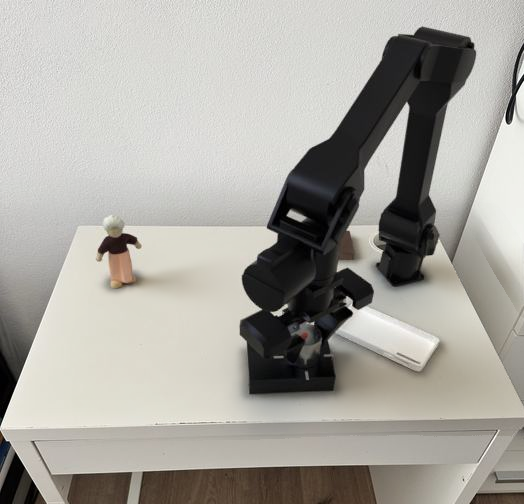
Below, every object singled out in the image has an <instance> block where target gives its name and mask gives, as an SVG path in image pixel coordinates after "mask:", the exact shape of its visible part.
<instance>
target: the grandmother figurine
mask: <svg viewBox="0 0 524 504" xmlns="http://www.w3.org/2000/svg"><path fill="white" fill-rule="evenodd" d="M125 224H126V223H125V221H124V220H123V219H122V218H120V216H118V215H115V214H114V215H113V214H111V215H108V216H107V217H105V218H103V221H102V227H103V230H104V231H105V232H106V233H107V236H105V237H104V238H103V240H102V242H101V243H100V245H99V246H98V248H97V252H96V257H95V261H96V262H98V263H101V262H102V261H103V257H104V255H105V254H106V253H107V258H108V259H107V261H108V270H109V274H110V287H111V288H112V289H119V288H121V287H122V286H123V283H124V284H127V285H128V284H134V283H135V282H136V281H137V278H136V276H135V275H133V271H134V270H133V263H132V258H131V254H130V253H131V252H130V249H129V248H128V245H131V246H132V245H133V246H134V248H135V249H136V250H140V249H142V247H143V246H142V243H140V241H139V239H138V237H137V236H135V235H134V234H133V235H132V234H130V233H125V232H124V228H125Z"/></svg>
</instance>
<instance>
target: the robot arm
mask: <svg viewBox="0 0 524 504" xmlns="http://www.w3.org/2000/svg"><path fill="white" fill-rule="evenodd" d="M476 58H477V50H476V49H475V42H473V41H472V39H471V37H470V36H468V35H463V34H458V33H453V32H449V31H445V30H441V29H440V30H439V29H436V28H432V27H427V26H422V25H421V26H420V27H418V29H416V30H415V31H414V33H413V34H407V33H398V34H397V35H392V36H391V37H390V38H389V39H388V40H387V42H386V43H385V46H384V48H383V51H382V56H381V59H380V61H379V63H378V65H377V66H376V67H375V69H374V71H373V72H372V74H371V75H370V76H369V78H368V80H367V81H366V82H365V84H364V86H363V87H362V88H361V90H360V92H359V94H358V95H357V97H356V98H355V100H354V101H353V102H352V105H351V106H350V107H349V109H348V110H347V112H346V114H345V115H344V116H343V118H342V119H341V121H340V123H339V124H338V126H336V127H337V128H335V130H334V132H333V133H332V134H331V135H330V137H329V138H328V139H326V140H324V141H322V142H320V143H317V144H315V145H313V146H312V147H310V148H309V149H307V151H306V152H305V153H304V154H303V156H302V157H301V158H300V159H299V161H298V162H297V163H296V164H295V166H294V167H293V168H292V169H291V170H290V171H289V173H288V174H287V176H286V179H285V180H284V182H283V185H282V187H281V191H280V193H279V194H278V197H277V200H276V202H275V204H274V207H273V210H272V213H271V215H270V217H269V220H268V222H267V224H266V229H267V230H269V231H271V232H273V233H276V235H277V236H276V237H277V238H276V242H275V243H273V245H271V246H270V247H268V248H265V249H264V250H262V251H261V252H259V253H258V254H257V256H256V259H255V260H254V261H253V262H251V264H249V265H248V266H246V268H245V269H244V271H243V273H242V274H241V283H242V288H243V290H244V292H245V294H246V296H247V297H248V299H249V300H250V301H251V302H252V303H253V304H254V305H255V306H256V307H258V308H259V309H260V310H258V311H256V312H254V313H251V314H250V315H248V316H246V317H244V318H242V319H240V320H239V336H240V337H241V338H242V339H243V340H244V341H245V342H246V343H247V342H248V343H249V344H250V345H251V346H252V347H253V348H254V349H255V350H256V351H257V352H258V353H259V354H260V355H261V356H262V357H263V358H267V359H271V358H273V357H274V356H276V355H278V354H280V353H282V352H283V351H284V353H285V355H286V357H287V359H288V361H289V362H290V363H291V364H294V363H295V361H296V360H297V358H298V356H299V354H300V352H301V350H302V348H303V346H304V343H305V340H304V339H303V338H302V337H301V336H300V335H299V331H300V326H302V325H304V324H312V323H313V325H314V326H316V327H318V328H319V329H320V330H321V332H322V342H321V347H322V346H323V345H324V344H325V343H326V341H327V340H328V341H329V339H330V338H331V337H332V336H333V335H334V334H336V333H335V332H336V331H337V330H338V329H339V328H340V327H341V326H342V325H343V324H344V323H345V322H346V321H347V320H348V319H349V318H350V317H352V315H353V312H352V311H351V310H350V309H349V308H348V307H349V306H348V307H347V305H348V303H347V298H349V299H350V300H351V301H352V303H351V304H352V306H353V307H354V308H355V309H357V310H360V309H361V308H363V307H365V306H369V305H371V304H372V303H373V299H374V294H375V290H374V287H373V285H372V283H371V282H369V281H367V280H366V279H364V278H363V277H361V275H359V274H358V273H356V272H355V271H354V270H352V269H351V268H349V267H346V268H342V269H340V270H339V271H338V265H339V260H338V259H339V252H340V245H341V240H342V238H343V236H344V234H345V233H346V231H348V229H349V227H350V225H351V224H352V221H353V220H354V217H355V216H356V214H357V212H358V210H359V208H360V201H361V197H362V195H363V193H364V192H365V170H366V168H367V166H368V164H369V162H370V161H371V159H372V157H373V156H374V154H376V153H375V152H376V151H377V149H378V148H379V146H380V145H381V143H382V142H383V140H384V138H385V137H386V136H387V134H388V132H389V131H390V130H391V128H392V126H393V125H394V123H395V121H396V120H397V118H398V117H399V116H400V114H401V112H402V111H403V109H404V107H405V106H406V104H407V105H408V115H407V119H406V120H407V121H406V127H405V133H404V134H405V135H404V139H403V146H402V154H401V161H400V167H399V173H398V179H397V187H396V193H395V198H393V199H392V201H391V202H389V204H388V205H387V206H386V207H385V208H384V209H383V211H382V212H381V213H380V218H379V222H378V241H379V242H383V243H385V247H384V250H382V252H381V257H380V261H379V262H376V263H375V267H376V269H377V270H378V271H379V272H380V273H381V275H382V276H383V277H384V278H385V279H386V281H387V282H388V283H389V284H390V285H391V286H392V287H398V286H403V285H407V284H412V283H415V282H419V281H423V280H425V277H426V276H425V274H424V273H423V272H422V271H421V269H422V266H423V262H424V260H425V258H426V257H431V256H434V255H435V252H436V247H437V245H438V243H439V238H440V236H441V233H440V232H439V230H438V228H437V226H436V225H435V222H436V214H437V210H436V209H437V208H436V207H435V205H434V203H433V200H432V198H431V197H430V192H431V191H430V190H431V187H432V186H431V185H432V181H433V176H434V172H435V167H436V162H437V157H438V151H439V147H440V143H441V136H442V133H443V128H444V123H445V120H446V114H447V109H448V105H449V103H450V102H451V101H452V100H453V98H454V97H455V96H456V95H457V94H458V93H459V92H460V91H461V90H462V88H463V87H464V86H465V85H466V82H467V80H468V78H469V77H470V75H471V73H472V71H473V69H474V66H475V63H476ZM290 212H293V213H295V214H298V215H300V216H302V217H305V218H304V219H303V220H301V221H300V220H297V219H295V218H293V217H290V216H288V214H289V213H290ZM286 305H287V307H285V308H284V306H286ZM282 308H284V309H282ZM281 309H282V310H281ZM279 310H281V314H280V315H279V316H278V314H276V315H274V314H273V313H276V312H278V311H279Z"/></svg>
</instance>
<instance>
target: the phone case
mask: <svg viewBox="0 0 524 504" xmlns="http://www.w3.org/2000/svg"><path fill="white" fill-rule="evenodd" d="M348 308H349V309H350V310H351V311H352V312H353V315H352V317H350V318H349V319H348V320H347V321H346V322H345V323H344V324H343V325H342V326H341V327H340V328H339V329H338V330H337V331H336V332H335V333H334V334H336V335H338V336H341V337H342V338H345V339H346V340H349V341H351V342H353V343H355V344H357V345H359V346H362V347H364V348H366V349H368V350H370V351H371V352H373V353H376V354H379V355H381V356H383V357H385V358H387V359H389V360H391V361H393V362H395V363H398V364H400V365H402V366H404V367H406V368H408V369H410V370H412V371H415V372H422V371H423V370H424V368H425V366H426V365H427V363H428V362H429V360H430V359H431V357H432V356H433V354H434V353H435V351H436V349H437V348H438V346H439V344H440V339H439V337H437V336H436V335H433V334H431V333H429V332H427V331H425V330H422V329H419V328H417V327H415V326H413V325H411V324H408V323H406V322H404V321H401V320H399V319H397V318H395V317H393V316H390V315H388V314H385V313H384V312H381V311H380V310H378V309H377V310H376V309H374V308H372V307H371V306H370V307H369V305H367V306H365V307H363V308H361V309H360V310H357V309H355V308H354V307H353V306H352V303H351V304H350V305H348Z"/></svg>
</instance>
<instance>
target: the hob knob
mask: <svg viewBox="0 0 524 504" xmlns="http://www.w3.org/2000/svg"><path fill="white" fill-rule="evenodd" d="M299 335H300V336H301V337H302V338H303V339H304V340H305V343H304V346H303V348H302V350H301V352H300V354H299V356H298V358H297V360H296V361H295V363H294V365H295V366H297V367H301V368H309V367H312V366H314V365H316V364H317V362H318V361H319V356H320V349H321V342H322V332H321V330H320V329H319V328H318V327H316V326H314V324H312V323H310V324H309V323H306V324H304V325H302V326H300V331H299Z"/></svg>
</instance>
